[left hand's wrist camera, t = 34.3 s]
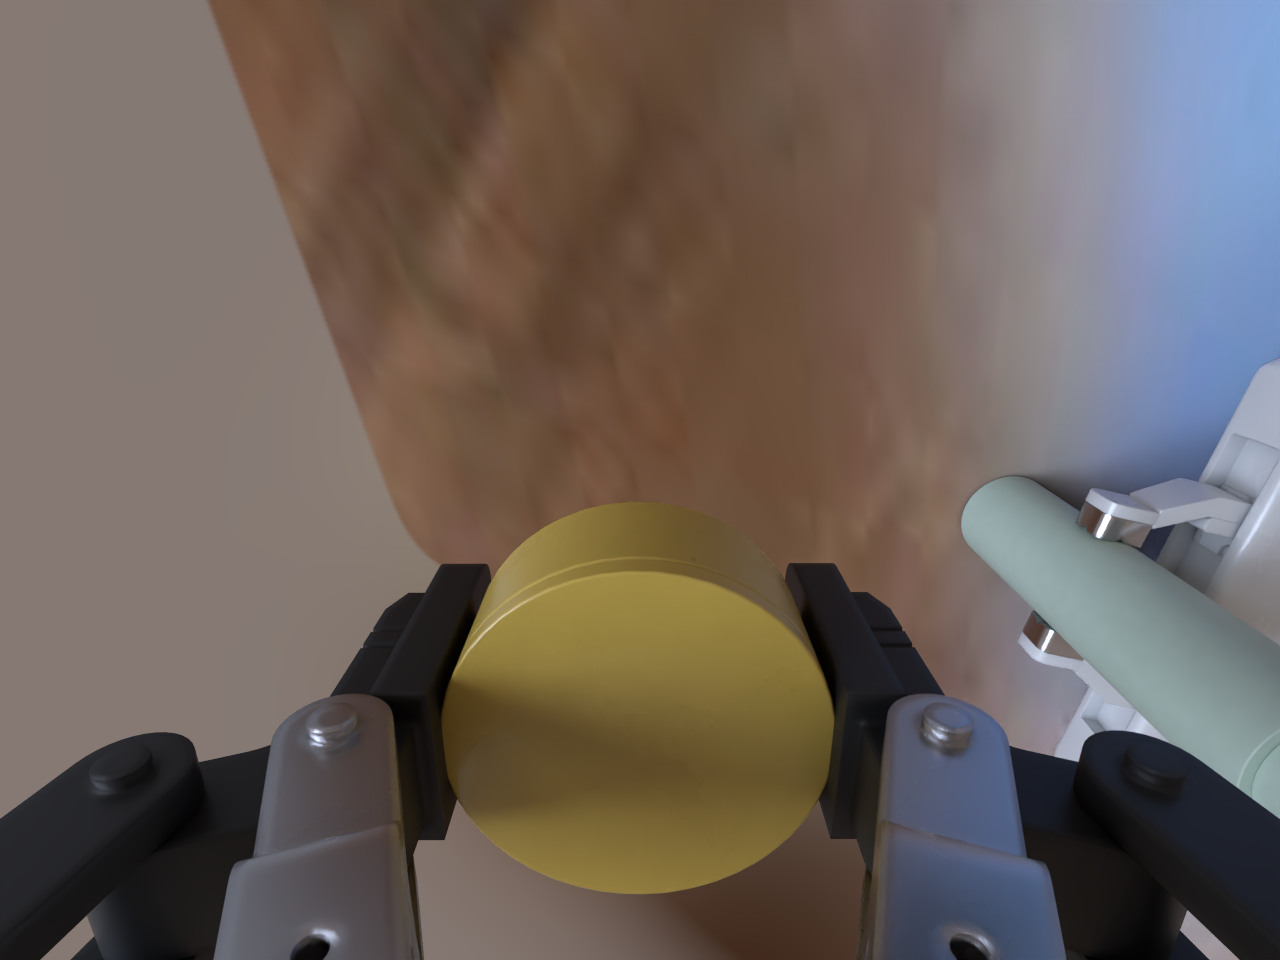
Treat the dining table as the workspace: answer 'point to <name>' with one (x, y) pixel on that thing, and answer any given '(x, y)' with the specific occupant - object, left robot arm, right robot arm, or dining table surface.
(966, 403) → the dining table surface
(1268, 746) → the mint green cylinder
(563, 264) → the dining table surface
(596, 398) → the dining table surface
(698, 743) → the lid
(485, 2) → the dining table surface
